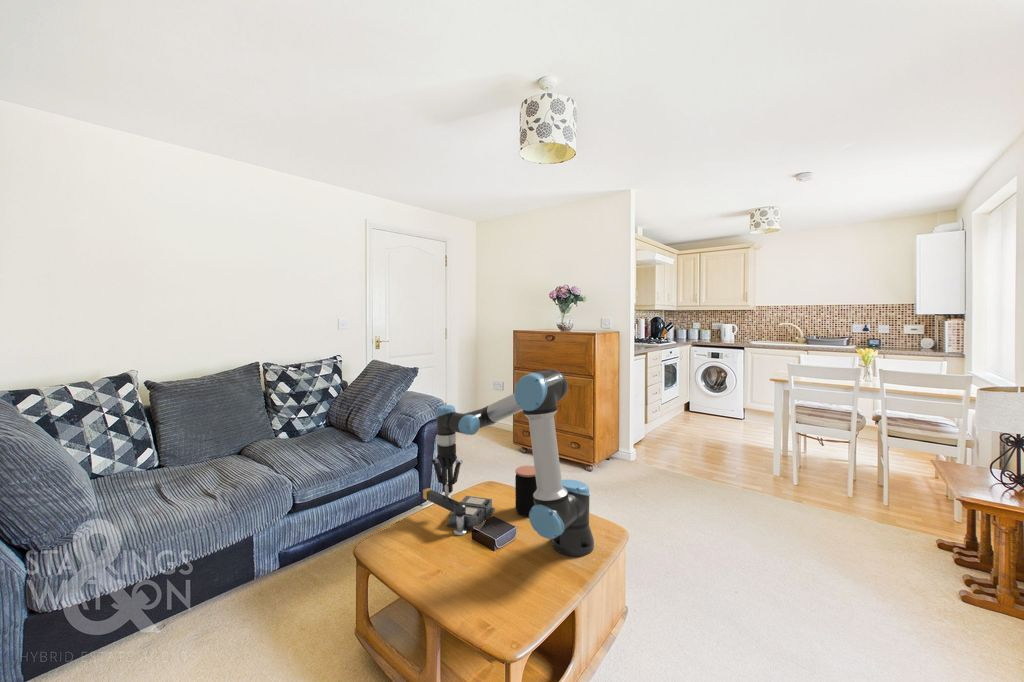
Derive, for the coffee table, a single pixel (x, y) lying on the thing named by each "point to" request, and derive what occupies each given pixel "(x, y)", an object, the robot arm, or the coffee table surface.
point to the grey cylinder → (460, 526)
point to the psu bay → (473, 512)
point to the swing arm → (445, 502)
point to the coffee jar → (525, 489)
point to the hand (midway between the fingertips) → (448, 499)
